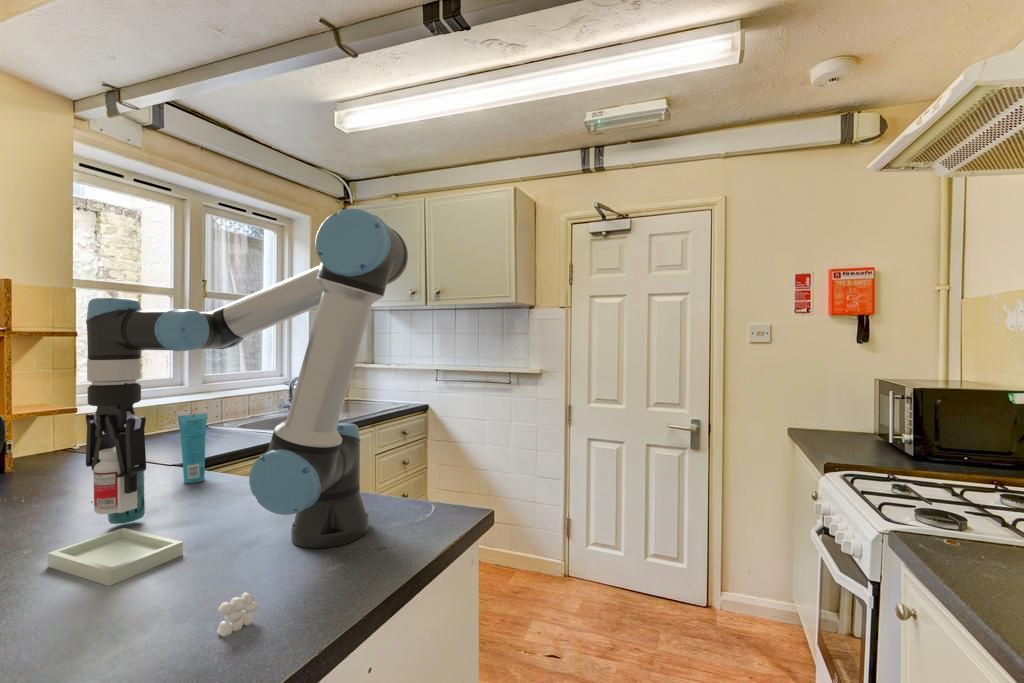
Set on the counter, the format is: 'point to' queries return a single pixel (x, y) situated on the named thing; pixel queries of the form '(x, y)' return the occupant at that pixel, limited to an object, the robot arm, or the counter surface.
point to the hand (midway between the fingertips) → (115, 507)
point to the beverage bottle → (134, 513)
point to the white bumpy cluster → (237, 613)
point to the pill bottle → (106, 482)
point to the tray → (115, 555)
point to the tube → (193, 446)
